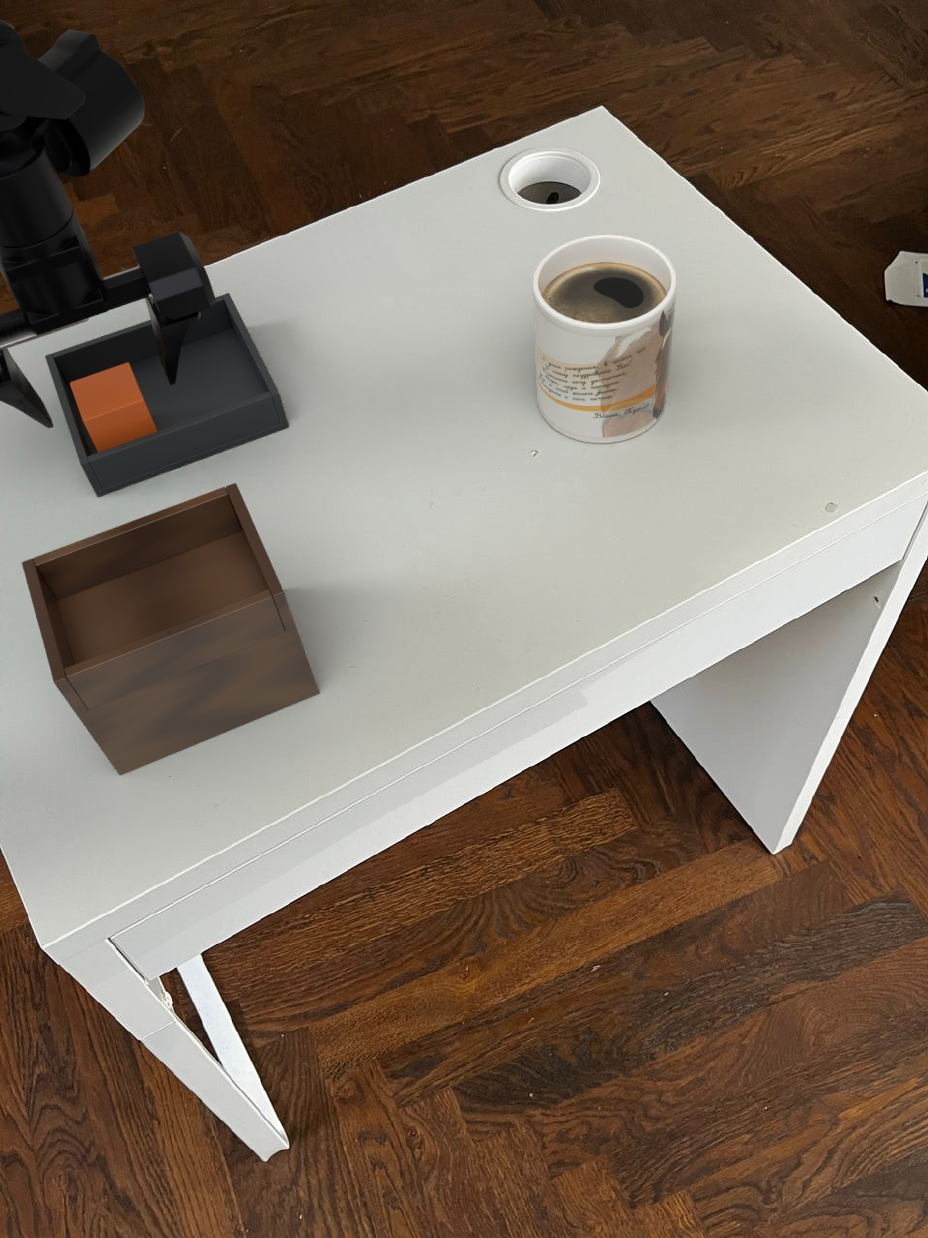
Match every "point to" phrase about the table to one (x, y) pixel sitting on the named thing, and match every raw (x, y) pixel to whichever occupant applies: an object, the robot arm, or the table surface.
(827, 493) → the table surface
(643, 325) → the mug
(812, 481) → the table surface
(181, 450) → the tub
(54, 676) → the box
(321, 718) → the table surface
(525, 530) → the table surface
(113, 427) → the block
